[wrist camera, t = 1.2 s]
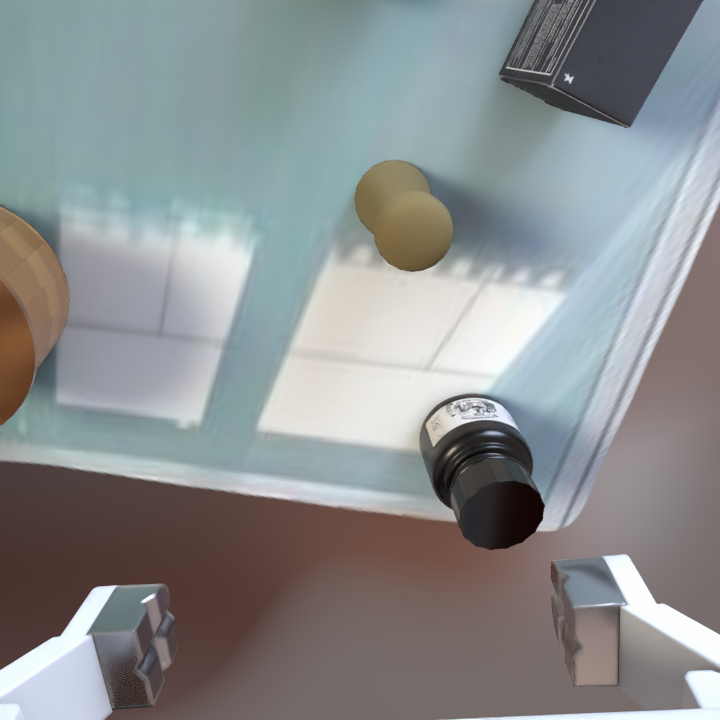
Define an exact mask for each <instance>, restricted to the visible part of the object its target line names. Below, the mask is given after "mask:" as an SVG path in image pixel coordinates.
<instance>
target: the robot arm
mask: <svg viewBox="0 0 720 720" xmlns="http://www.w3.org/2000/svg"><path fill="white" fill-rule="evenodd" d="M551 580H552V583H553V585H554V588H555V593H554V594H553V595H552V597H551V601H552V615H553V622H554V628H555V632H556V636H557V640H558V643H559V645H560V646H562V647H563V648H564V650H565V651H564V653H565V664H566V667H567V670H568V673H569V676H570V678H571V681H572V684H573V687H612V686H613V687H615V686H616V687H617V686H619V689H620V690H621V691H622V692H623V693H624V694H626V695H627V696H628V697H629V698H630V699H631V700H632V701H633V702H634V703H636V704H637V705H638V706H639V707H640V708H641V709H642V710H643V711H634V712H608V713H584V714H563V715H538V716H516V717H492V718H469V719H448V720H720V635H719V634H717V633H715V632H714V631H712V630H710V629H708V628H706V627H704V626H703V625H701V624H699V623H697V622H696V621H694V620H692V619H690V618H689V617H687V616H685V615H683V614H681V613H680V612H678V611H676V610H674V609H672V608H671V607H669V606H667V605H665V604H656V602H655V600H654V599H653V597H652V595H651V594H650V592H649V590H648V588H647V587H646V585H645V583H644V581H643V580H642V578H641V576H640V575H639V573H638V571H637V570H636V568H635V566H634V564H633V563H632V561H631V559H630V557H629V556H627V555H625V554H623V555H613V556H602V557H597V558H583V559H570V560H556V561H552V562H551ZM170 602H171V598H170V595H169V590H168V587H167V586H166V585H164V584H143V585H120V586H101V587H96V588H94V589H93V590H92V591H91V592H90V594H89V595H88V597H87V598H86V599H85V601H84V602H83V604H82V605H81V607H80V608H79V610H78V611H77V613H76V614H75V616H74V617H73V619H72V620H71V622H70V623H69V624H68V626H67V627H66V629H65V630H64V632H63V633H62V635H61V636H60V637H53V638H52V639H50V640H48V641H46V642H45V643H43V644H42V645H40V646H39V647H37V648H35V649H34V650H32V651H31V652H29V653H27V654H26V655H24V656H22V657H21V658H19V659H18V660H16V661H15V662H13V663H11V664H10V665H8V666H6V667H5V668H3V669H2V670H0V720H104V719H106V718H107V717H108V716H109V715H110V714H111V713H112V710H116V709H129V708H142V707H153V706H154V704H155V701H156V699H157V697H158V694H159V692H160V690H161V688H162V685H163V683H164V678H163V673H162V672H163V671H164V670H165V669H166V668H168V667H169V666H170V665H171V664H172V662H173V659H174V657H175V654H176V648H177V641H178V635H177V625H176V620H175V617H174V616H172V615H171V614H170V613H169V612H168V611H167V608H168V606H169V604H170Z"/></svg>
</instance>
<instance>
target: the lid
mask: <svg viewBox="0 0 720 720" xmlns="http://www.w3.org/2000/svg"><path fill="white" fill-rule="evenodd" d="M37 358H38V350H37V342H36V336H35V332H34V329H33V325H32V322H31V320H30V317H29V315H28V313H27V310H26V308H25V306H24V305H23V303H22V301H21V300H20V298H19V296H18V294H17V293H16V292H15V290H14V289H13V288H12V286H11V285H10V284H9V283H8V281H7V280H6V279H5V278H4V277H3V276H2V275H1V274H0V426H1V425H2V424H4V423H5V422H6V421H7V420H8V419H9V418H10V417H11V416H13V415H14V413H15V412H16V411H17V410H18V409H19V407H20V406H21V405H22V403H23V402H24V400H25V399H26V397H27V395H28V393H29V392H30V390H31V387H32V384H33V382H34V379H35V375H36V369H37Z"/></svg>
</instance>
